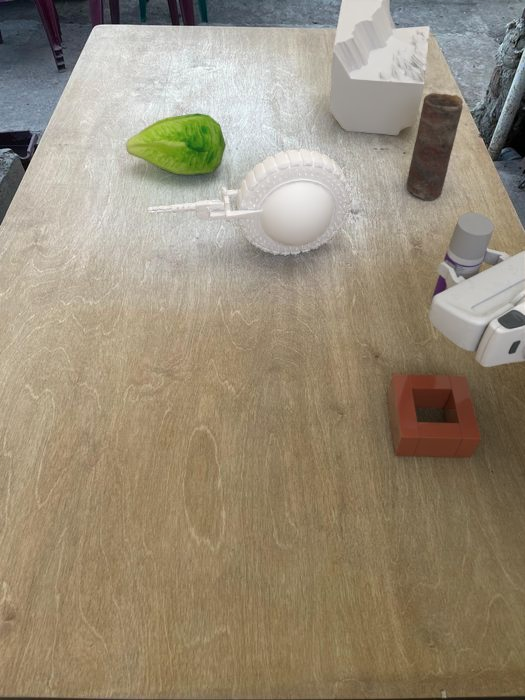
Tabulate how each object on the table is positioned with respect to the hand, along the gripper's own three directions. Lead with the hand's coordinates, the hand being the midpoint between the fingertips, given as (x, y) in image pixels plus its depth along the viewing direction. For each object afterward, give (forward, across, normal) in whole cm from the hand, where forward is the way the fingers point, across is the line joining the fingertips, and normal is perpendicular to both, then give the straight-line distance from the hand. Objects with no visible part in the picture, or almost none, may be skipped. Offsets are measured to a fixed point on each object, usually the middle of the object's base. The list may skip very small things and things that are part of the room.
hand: (458, 256), depth 82 cm
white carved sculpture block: (+60, -39, +22) cm, 75 cm away
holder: (-9, +7, +22) cm, 25 cm away
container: (-1, 0, +9) cm, 9 cm away
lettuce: (+67, +8, +22) cm, 71 cm away
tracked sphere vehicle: (+37, +9, +22) cm, 44 cm away
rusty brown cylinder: (+34, -32, +22) cm, 52 cm away
